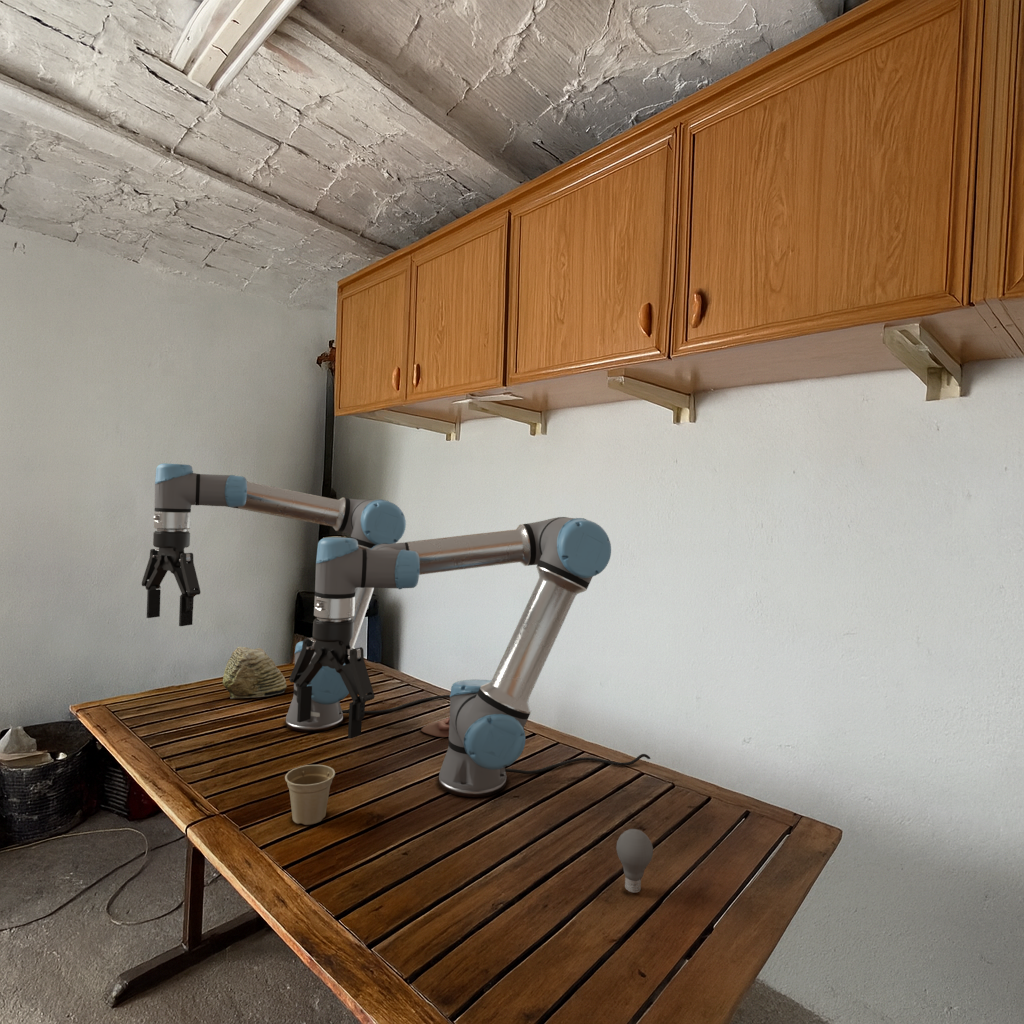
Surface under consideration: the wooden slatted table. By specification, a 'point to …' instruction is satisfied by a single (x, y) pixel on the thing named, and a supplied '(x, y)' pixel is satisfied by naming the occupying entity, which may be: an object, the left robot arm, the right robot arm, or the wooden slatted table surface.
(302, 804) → the plastic plant pot
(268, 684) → the fossil
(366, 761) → the wooden slatted table surface
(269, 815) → the wooden slatted table surface
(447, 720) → the anatomical model
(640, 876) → the light bulb
